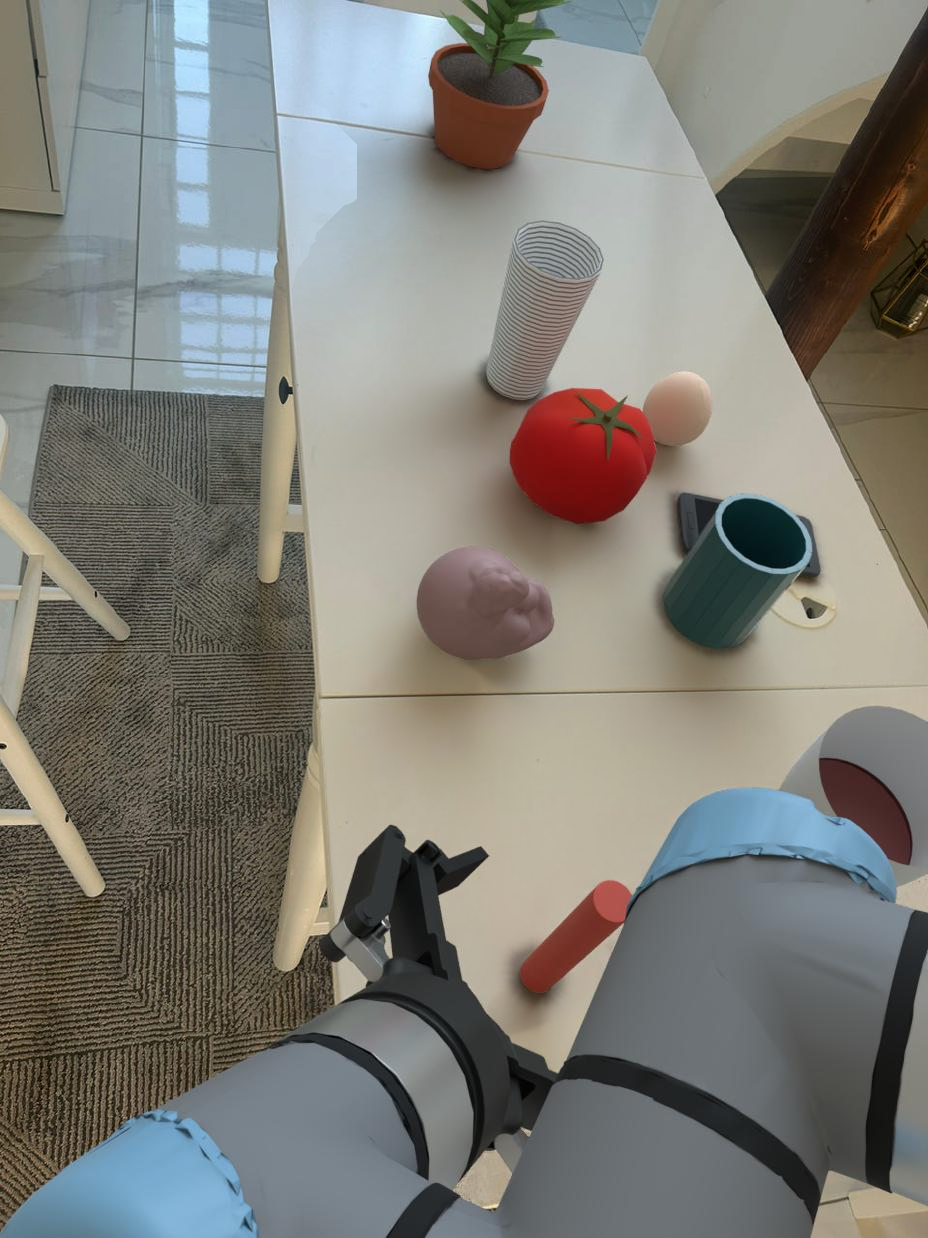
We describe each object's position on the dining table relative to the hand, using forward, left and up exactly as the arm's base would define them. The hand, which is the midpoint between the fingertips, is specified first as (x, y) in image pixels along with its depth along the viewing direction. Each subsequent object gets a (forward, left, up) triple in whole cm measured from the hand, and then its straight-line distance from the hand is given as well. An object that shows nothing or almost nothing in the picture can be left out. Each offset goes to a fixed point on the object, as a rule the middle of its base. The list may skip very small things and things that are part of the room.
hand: (547, 960), depth 55 cm
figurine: (+27, -11, -11) cm, 31 cm away
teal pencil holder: (+23, -33, -11) cm, 42 cm away
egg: (+43, -41, -11) cm, 61 cm away
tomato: (+39, -27, -11) cm, 49 cm away
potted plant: (+94, -44, -11) cm, 104 cm away
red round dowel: (+1, -3, -11) cm, 12 cm away
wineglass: (-1, -18, -11) cm, 21 cm away
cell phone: (+29, -42, -11) cm, 53 cm away
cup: (+54, -29, -11) cm, 62 cm away
